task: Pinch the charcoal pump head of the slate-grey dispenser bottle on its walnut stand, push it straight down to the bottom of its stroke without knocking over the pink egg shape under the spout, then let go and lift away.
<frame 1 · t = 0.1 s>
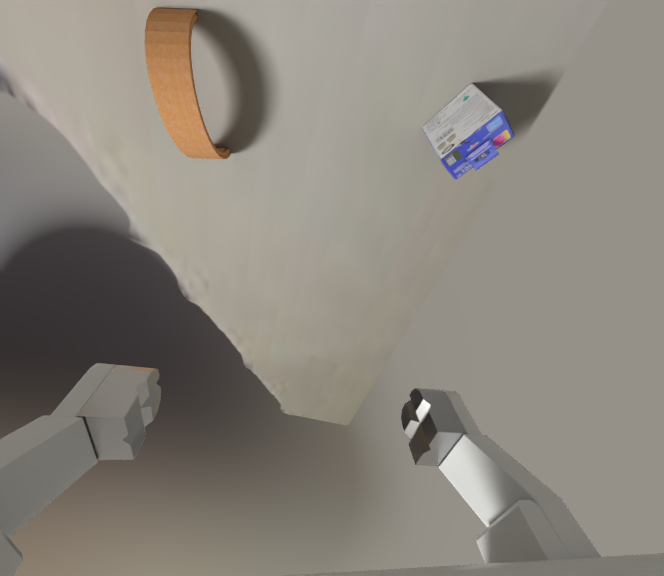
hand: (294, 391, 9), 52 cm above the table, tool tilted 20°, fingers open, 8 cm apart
ink cartridge box: (452, 117, 51), on the table
arch: (199, 92, 47), on the table
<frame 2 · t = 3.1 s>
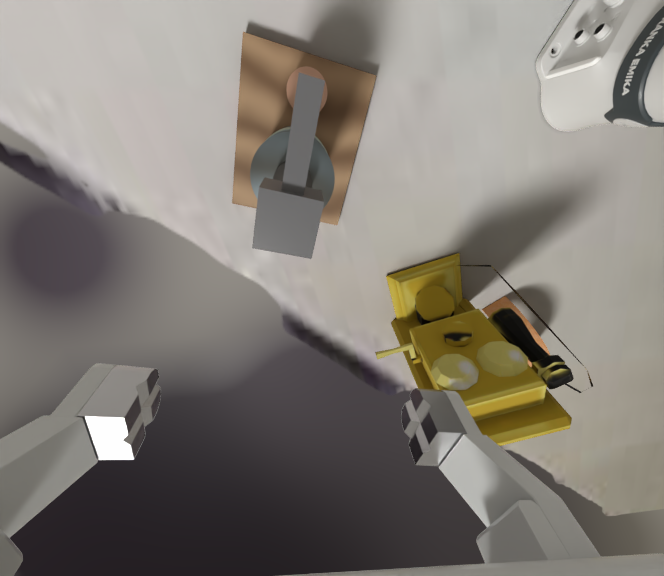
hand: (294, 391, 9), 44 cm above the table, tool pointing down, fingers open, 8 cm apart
pink egg shape: (306, 94, 40), point 1 cm above the table, touching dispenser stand
pump head: (296, 166, 20), point 28 cm above the table, slide at 0.0 cm
vintage telephone: (431, 287, 61), on the table
arch: (506, 326, 70), on the table
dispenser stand: (296, 157, 45), on the table
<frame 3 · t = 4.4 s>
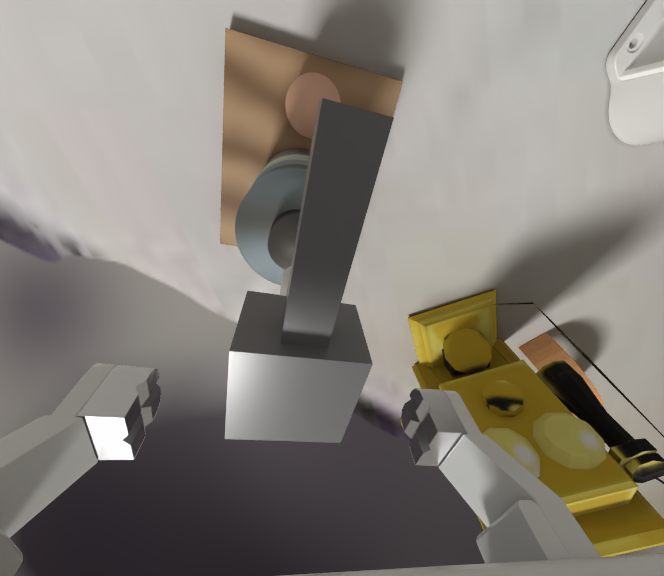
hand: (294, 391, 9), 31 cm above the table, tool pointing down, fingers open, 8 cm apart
pink egg shape: (311, 108, 30), point 1 cm above the table, touching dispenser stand
pump head: (307, 262, 11), point 28 cm above the table, slide at 0.0 cm
vintage telephone: (460, 328, 52), on the table
arch: (545, 364, 60), on the table
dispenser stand: (298, 185, 36), on the table
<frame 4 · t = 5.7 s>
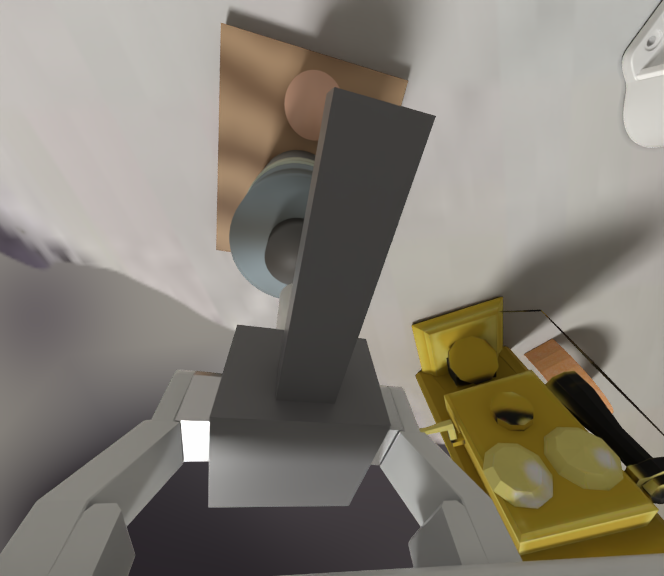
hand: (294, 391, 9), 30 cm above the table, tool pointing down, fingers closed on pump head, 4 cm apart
pink egg shape: (311, 108, 29), point 1 cm above the table, touching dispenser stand
pump head: (309, 288, 9), point 28 cm above the table, slide at 0.0 cm, touching gripper
vintage telephone: (465, 335, 50), on the table
arch: (551, 370, 58), on the table
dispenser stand: (298, 189, 34), on the table
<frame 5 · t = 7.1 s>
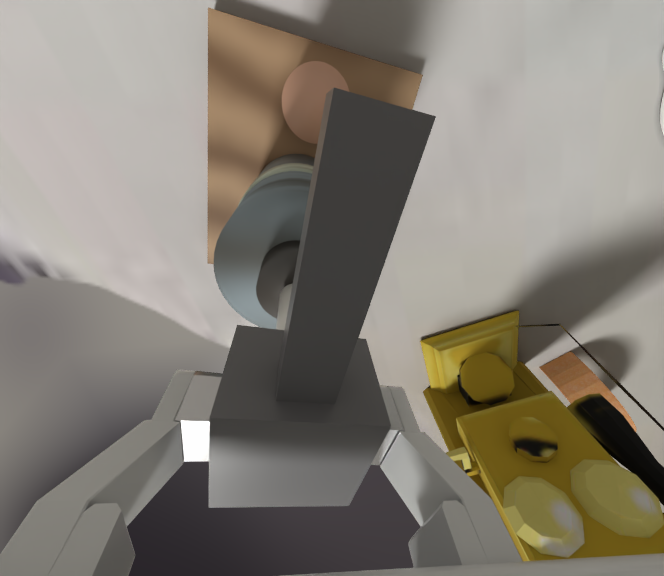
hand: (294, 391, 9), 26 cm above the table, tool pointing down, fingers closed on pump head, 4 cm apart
pink egg shape: (313, 107, 25), point 1 cm above the table, touching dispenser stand
pump head: (309, 288, 9), point 24 cm above the table, slide at 3.9 cm, touching gripper
vintage telephone: (477, 351, 47), on the table
arch: (567, 384, 54), on the table
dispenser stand: (298, 197, 31), on the table
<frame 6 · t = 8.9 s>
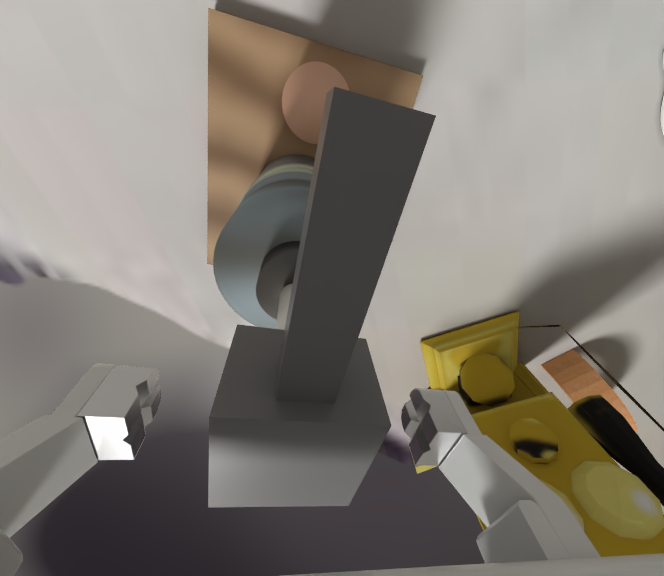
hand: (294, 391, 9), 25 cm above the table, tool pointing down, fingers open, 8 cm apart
pink egg shape: (313, 107, 25), point 1 cm above the table, touching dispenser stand
pump head: (309, 287, 9), point 24 cm above the table, slide at 4.0 cm
vintage telephone: (477, 352, 47), on the table
arch: (567, 383, 54), on the table
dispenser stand: (298, 197, 31), on the table
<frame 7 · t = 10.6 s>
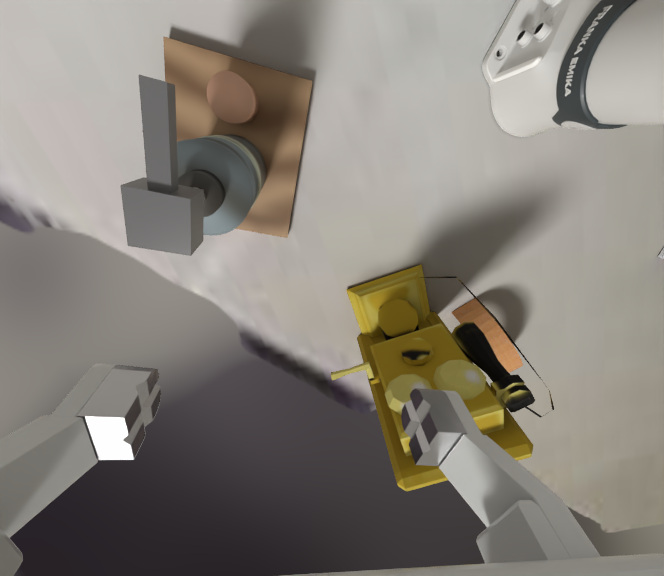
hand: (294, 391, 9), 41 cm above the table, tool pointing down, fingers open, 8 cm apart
pink egg shape: (239, 101, 37), point 1 cm above the table, touching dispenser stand
pump head: (179, 167, 21), point 24 cm above the table, slide at 4.0 cm
vintage telephone: (396, 301, 58), on the table
arch: (478, 331, 65), on the table
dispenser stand: (237, 167, 43), on the table
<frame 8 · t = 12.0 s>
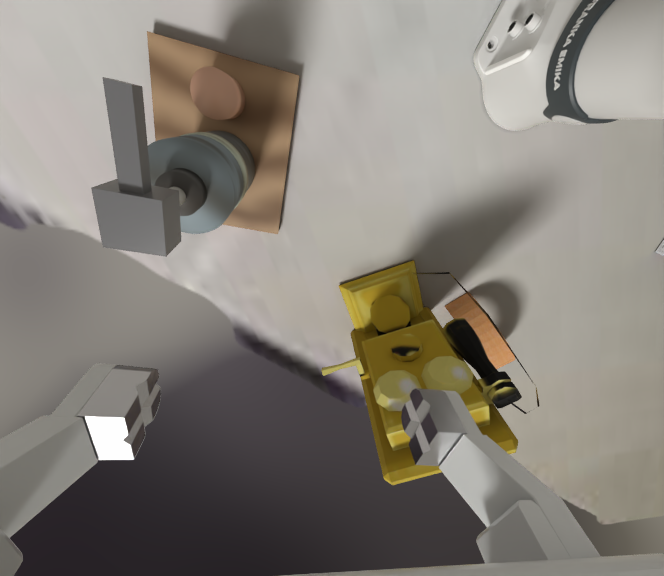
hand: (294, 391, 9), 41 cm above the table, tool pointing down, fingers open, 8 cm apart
pink egg shape: (225, 97, 37), point 1 cm above the table, touching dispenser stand
pump head: (154, 167, 21), point 24 cm above the table, slide at 4.0 cm
vintage telephone: (389, 296, 58), on the table
arch: (472, 325, 65), on the table
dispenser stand: (225, 164, 42), on the table
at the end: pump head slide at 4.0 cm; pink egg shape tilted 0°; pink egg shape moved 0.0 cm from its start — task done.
